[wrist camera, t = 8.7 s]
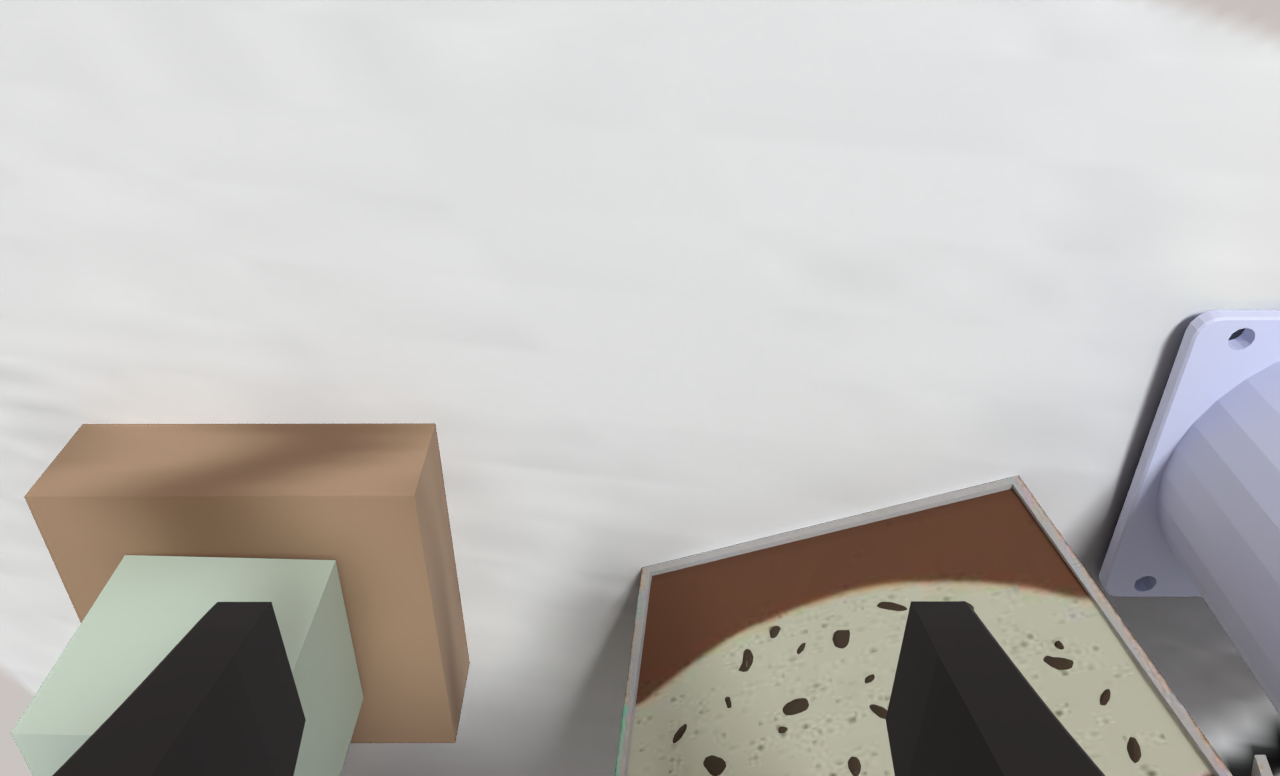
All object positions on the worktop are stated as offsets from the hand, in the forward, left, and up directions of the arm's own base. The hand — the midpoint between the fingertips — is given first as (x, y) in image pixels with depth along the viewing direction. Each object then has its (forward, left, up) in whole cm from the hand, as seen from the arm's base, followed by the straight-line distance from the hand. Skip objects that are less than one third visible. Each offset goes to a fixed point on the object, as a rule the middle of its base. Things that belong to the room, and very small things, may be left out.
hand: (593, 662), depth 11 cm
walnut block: (+8, +8, -11) cm, 16 cm away
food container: (-6, +10, -11) cm, 16 cm away
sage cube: (+8, +8, -8) cm, 14 cm away
